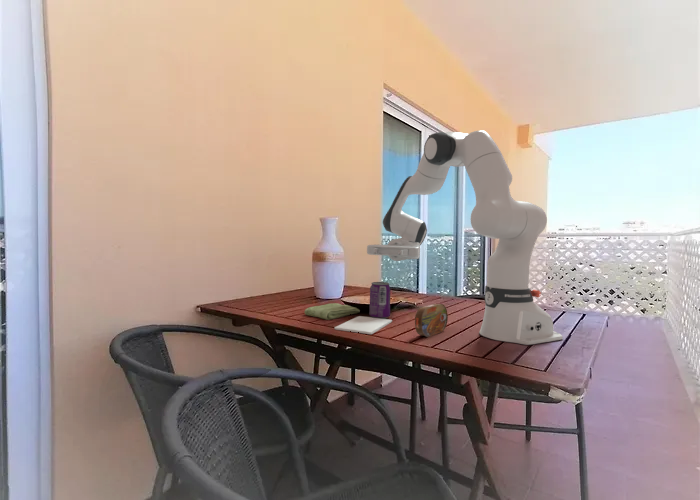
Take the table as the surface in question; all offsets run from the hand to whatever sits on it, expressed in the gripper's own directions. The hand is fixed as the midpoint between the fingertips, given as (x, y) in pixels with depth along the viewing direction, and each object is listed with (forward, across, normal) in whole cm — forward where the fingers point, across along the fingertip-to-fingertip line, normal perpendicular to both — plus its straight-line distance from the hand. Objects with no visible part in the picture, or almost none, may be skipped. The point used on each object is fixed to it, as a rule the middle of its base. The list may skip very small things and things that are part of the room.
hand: (387, 252), depth 136 cm
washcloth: (+11, -17, +23) cm, 30 cm away
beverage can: (+8, 0, +22) cm, 24 cm away
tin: (+21, +21, +22) cm, 37 cm away
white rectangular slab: (+21, 0, +22) cm, 30 cm away
